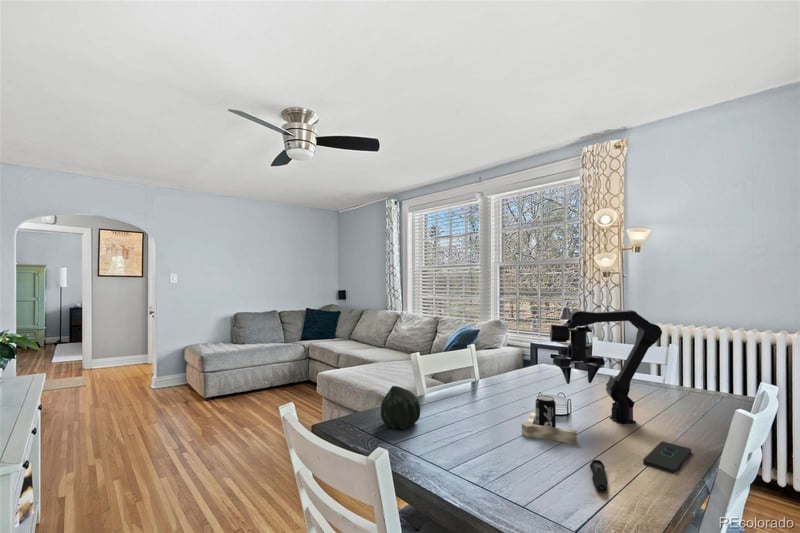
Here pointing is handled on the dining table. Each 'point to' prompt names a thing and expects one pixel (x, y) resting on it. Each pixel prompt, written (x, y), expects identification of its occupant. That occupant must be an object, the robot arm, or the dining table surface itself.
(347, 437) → the dining table surface
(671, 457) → the smart home device
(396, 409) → the squash
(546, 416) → the beverage can
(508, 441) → the dining table surface
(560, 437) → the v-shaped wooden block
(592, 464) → the electric trimmer
